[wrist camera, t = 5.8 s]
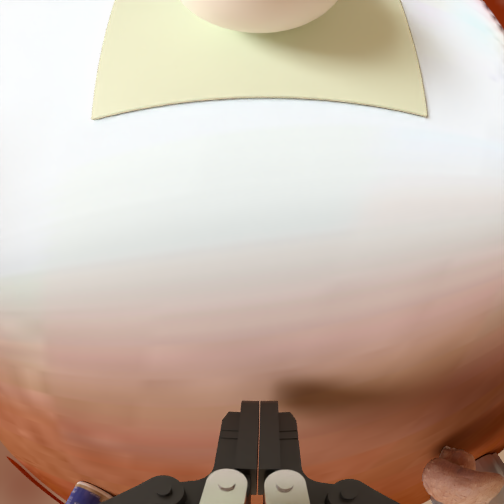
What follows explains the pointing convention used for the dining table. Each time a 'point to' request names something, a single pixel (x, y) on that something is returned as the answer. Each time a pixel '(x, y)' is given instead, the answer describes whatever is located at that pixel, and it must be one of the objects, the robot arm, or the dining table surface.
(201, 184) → the dining table surface
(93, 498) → the pill bottle
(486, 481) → the mushroom
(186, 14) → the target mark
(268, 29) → the cue ball
